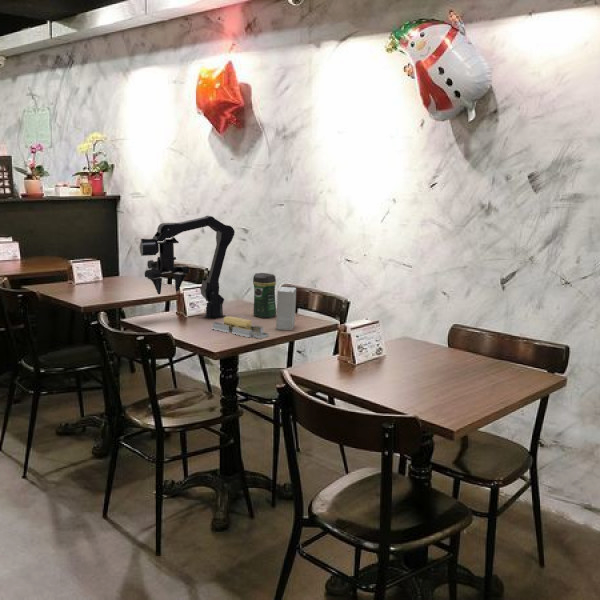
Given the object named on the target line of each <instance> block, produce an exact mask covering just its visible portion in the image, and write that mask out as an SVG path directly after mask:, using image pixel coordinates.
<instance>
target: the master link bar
mask: <svg viewBox="0 0 600 600" xmlns="http://www.w3.org/2000/svg"><path fill="white" fill-rule="evenodd" d="M223 324H226V325H231V326H232V327H235V326H236V327H240V328H245V329H249V330H251V325H252V320H250V319H245V318H241V317H235V316H231V315H228V316H225V317H223Z"/></svg>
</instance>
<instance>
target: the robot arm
mask: <svg viewBox="0 0 600 600" xmlns="http://www.w3.org/2000/svg"><path fill="white" fill-rule="evenodd" d="M206 227H208V228H210V229H211V230H213V231H214V232H215V241H216V246H215V248H214V252H213V253H214V254H213V258H212V261H211V265H210V269H209V272H208V275H207V278H206V280H203V279H202V281H201V286H200V288H199V290H200V295H201V296H202V297H203V298H204V299H205V302H206V307H205V310H206V311H205V315H204V318H209V319H214V320H216V319H219V318H224V317H226V315H225V314H223V304H224V302H225V298H224V297H223V296H222V295H220V283H219V282H220V281H219V280H220V277H221V272H222V269H223V265H224V260H225V256H226V254H227V250H228V247H229V245H230V244H231V243H232V240H233V238H234V237H235V228H233V226H231V225H227V224H224V223H223V222H221V221H220V220H218V219H217V218H215V217H214V216H211V215H206V216H202V217H199V218H194V219H189V220H185V221H179V222H162V223H160V224H159V225H157V230H156V233H155V234H154V236H153V237H152V238H140V243H139V253H140V256H141V257H142V256H143V257H144V256H145V257H146V256H148V257H150V256H157V254H159V256H158V257H157V258H156V261H154V260H153V259H150V260H147V262H146V263H147V264H146V265H147V269H146V270H145V271H144V277H145V278H147V279H148V280H150V281H151V282H152V283H153V285H154V288H155V290H156V293H157V294H158V295H161V292H162V282H163V277H162V276H163V275H169V274H170V275H171V274H172V275H173V277H174V285H175V287H174V288H175V292H179V290H180V288H181V286H182V283H183V281H184V279H185V277H187V276H188V274H190V268H189V266H188V265H180V264H179V265H175V260H176V261H177V257H176V256H175V251H174V250H175V246H174V245H175V244H179V243H180V242H179V240H177V239H176V238H175V236H177V235H180V234H181V233H184V232H189V231H192V230H196V229H201V228H206Z"/></svg>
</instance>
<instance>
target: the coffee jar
mask: <svg viewBox="0 0 600 600" xmlns="http://www.w3.org/2000/svg"><path fill="white" fill-rule="evenodd" d="M252 284H253V292H254V293H253V295H254V296H253V316H254V317H258V318H264V319H265V318H266V319H267V318H269V319H272V318H273V317H275V316H277V303H276V284H277V281H276V275H275V274H273V273H268V272H267V273H266V272H258V273H255V274H253V280H252Z"/></svg>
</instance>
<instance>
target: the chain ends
mask: <svg viewBox="0 0 600 600" xmlns="http://www.w3.org/2000/svg"><path fill="white" fill-rule="evenodd" d="M213 329H214V330H213ZM212 330H213V331H217V330H219V331H218V332H221V331H223V333H226V332H227V333H226V334H230V333H229V332H231V334H232V335H235V334H236V335H235V336H239V335H240V337H243V336H245V337H244V338H248V337H250V338H254V337H256V338H255V339H258V338H259V340H260V338H261V339H264V338H268V337H269V336H270V335H269V334H270V333H268V332H264V327H263V326H260V325H254V324H251V330H249V329H245V328H240V327H236V326H235V327H232V326H231V325H226V324H224V323H221V322H217V321H215V322H212Z"/></svg>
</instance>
